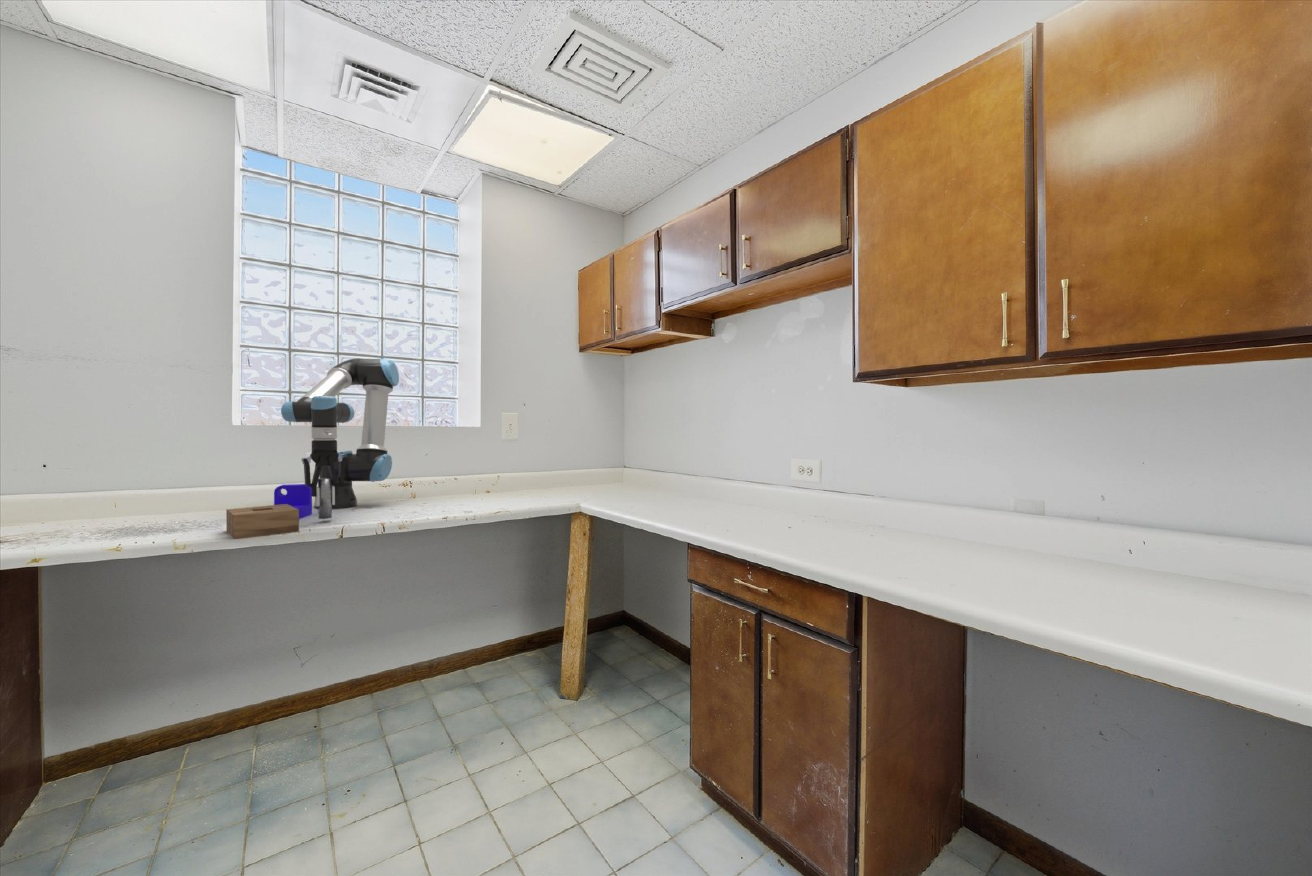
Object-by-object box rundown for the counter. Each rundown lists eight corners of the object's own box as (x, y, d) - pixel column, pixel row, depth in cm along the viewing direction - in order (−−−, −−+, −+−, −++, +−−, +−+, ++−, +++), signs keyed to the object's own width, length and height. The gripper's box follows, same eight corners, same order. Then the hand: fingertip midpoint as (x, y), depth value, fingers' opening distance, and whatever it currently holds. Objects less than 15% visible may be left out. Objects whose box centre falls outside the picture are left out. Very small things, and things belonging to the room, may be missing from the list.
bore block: (226, 530, 159) (226, 509, 159) (287, 524, 171) (287, 504, 171) (234, 538, 148) (234, 515, 148) (298, 531, 160) (298, 509, 160)
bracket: (277, 515, 187) (277, 484, 186) (311, 514, 191) (311, 483, 191) (263, 524, 170) (263, 490, 170) (301, 522, 175) (301, 489, 175)
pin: (316, 517, 176) (316, 478, 175) (329, 516, 179) (329, 477, 178) (320, 519, 173) (319, 479, 173) (333, 517, 176) (332, 478, 175)
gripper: (298, 440, 166) (298, 509, 167) (354, 439, 179) (355, 503, 179) (292, 439, 171) (293, 506, 172) (348, 438, 184) (348, 501, 185)
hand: (325, 504), depth 176 cm, fingers closed on pin, 4 cm apart
